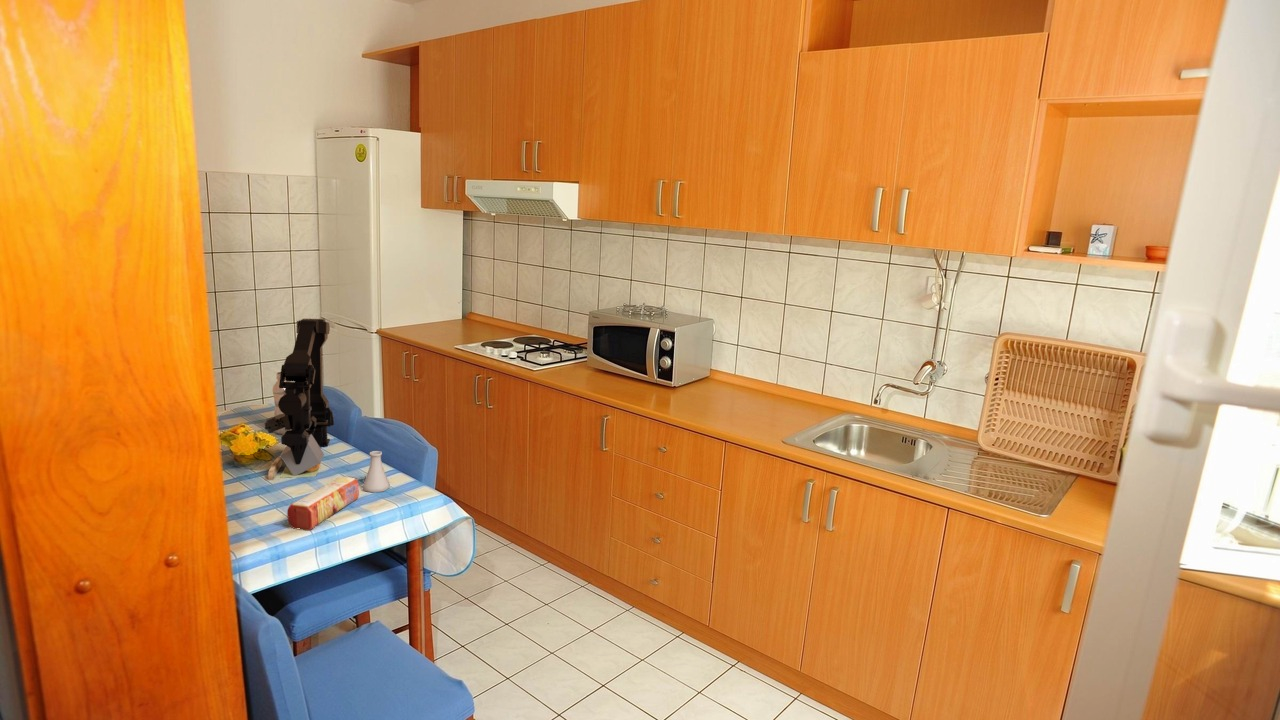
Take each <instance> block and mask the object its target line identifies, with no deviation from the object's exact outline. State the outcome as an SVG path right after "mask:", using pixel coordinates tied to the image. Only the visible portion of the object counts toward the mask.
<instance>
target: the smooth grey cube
mask: <svg viewBox="0 0 1280 720" xmlns="http://www.w3.org/2000/svg"><path fill="white" fill-rule="evenodd" d="M308 436H309V437H308V440H309V442H308V444H307V447H306V450H305V452H304V455H303V458H302V460H301V463H300V464H296V463H295V460H294V457H293V454H292V451H291V449H290V447H288V446H286V445H285V447H284V449H283V450H282V452H281V453H280V456H279V457H281V460H282V461H283V462H284V464H285V465H286V466H287V467H288V468H289V470H290V471H291V473H292V474H293V476H296V475H298V474H300V473H302V472H304V471H306V470H308V469H310V468H312V467H314V466H316V465H318V464H320V463H321V464H322V462H323V461H322V460H323V458H324V456H325V453H324V451H323V450H322V448H321V446H319V445H318V444H317V442H316V440H315V439H314V437H313V436H312V434H310V435H308Z"/></svg>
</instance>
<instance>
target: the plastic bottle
mask: <svg viewBox="0 0 1280 720" xmlns="http://www.w3.org/2000/svg"><path fill="white" fill-rule="evenodd" d="M280 375H281V371H278V372H276V382H275V383H274V384H273V387H272V389H271V390H272V395H273V399H274V416H277V415H280V414H284V413H283V412H281V411H280V409H279V406H278V403H279V400H280V398H281V397H282V396H283V395H284V394H285V388H279V383H280ZM284 382H291V381H286V378H285V380H284ZM290 430H292V429H290ZM286 431H287V430H285V427H284V428H282V429H279V430H276V431H274V432H275V433H276V434H280V435H283V434H284V433H285V432H286Z"/></svg>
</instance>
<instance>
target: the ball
mask: <svg viewBox="0 0 1280 720" xmlns="http://www.w3.org/2000/svg"><path fill="white" fill-rule="evenodd" d="M321 464H322V462H321V463H320V464H318V465H316V466H314V467H312V468H310V469H308V470H306V471H308V472H313V471H316V470H317V469H318V468H319V467H321ZM319 469H320V468H319Z"/></svg>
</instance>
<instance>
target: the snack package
mask: <svg viewBox="0 0 1280 720" xmlns="http://www.w3.org/2000/svg"><path fill="white" fill-rule="evenodd" d="M359 488H360V485H359V481H358V480H357V478H354V477H351V476H338V477H337V478H335V479H334V480H332V481H330V482H328V483H327V484H325V485H324V486H323V485H322V487H319V488H318V489H316V490H315V491H312V492H311V493H309V494H308V495H306V496H304V497H302V498H300V499H298V500H296V501H295V502H293V503H291V504H290V505H289V506H288V508H287V512H286V513H287V520H288V524H289V525H290V527H292V528H293V527H294V528H293V529H295V528H300V529H306V530H305V531H310V530H312V529H314V528H315V527H317V526H318V525H319V524H321V523H322V522H325V521H326V520H327V519H328V518H331V516H333V515H334V514H336V513H337V512H339V511H340V510H342V509H343V508H346V507H347V506H348V505H349V504H352V503H353V502H356V501H357V500H358V499H359V496H360V489H359ZM300 529H299V530H300Z"/></svg>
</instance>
